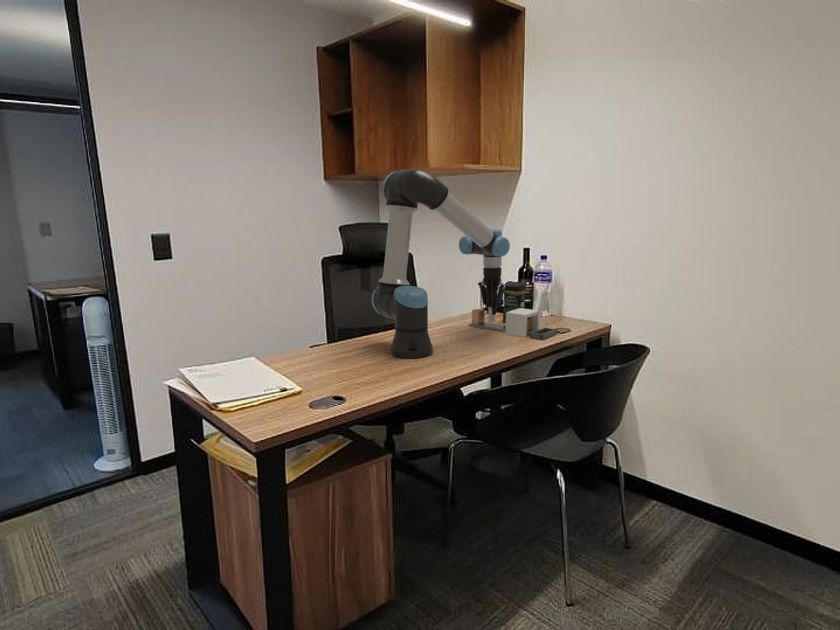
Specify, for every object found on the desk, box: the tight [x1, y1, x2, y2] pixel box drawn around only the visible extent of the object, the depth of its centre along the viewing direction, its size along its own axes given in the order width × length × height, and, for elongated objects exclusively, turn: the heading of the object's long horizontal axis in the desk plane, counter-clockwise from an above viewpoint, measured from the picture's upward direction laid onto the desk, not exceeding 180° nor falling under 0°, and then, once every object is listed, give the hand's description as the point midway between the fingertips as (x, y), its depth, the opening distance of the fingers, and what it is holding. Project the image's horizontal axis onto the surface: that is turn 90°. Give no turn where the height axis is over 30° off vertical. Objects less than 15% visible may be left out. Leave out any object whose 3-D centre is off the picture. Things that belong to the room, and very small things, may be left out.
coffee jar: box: [502, 281, 527, 324], centre depth 229 cm, size 10×8×19 cm
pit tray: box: [529, 327, 558, 341], centre depth 205 cm, size 12×6×2 cm, turn 139°
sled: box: [468, 308, 534, 336], centre depth 218 cm, size 7×28×7 cm, turn 49°
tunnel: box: [505, 308, 541, 338], centre depth 211 cm, size 11×9×9 cm
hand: (491, 321), depth 221 cm, fingers closed
